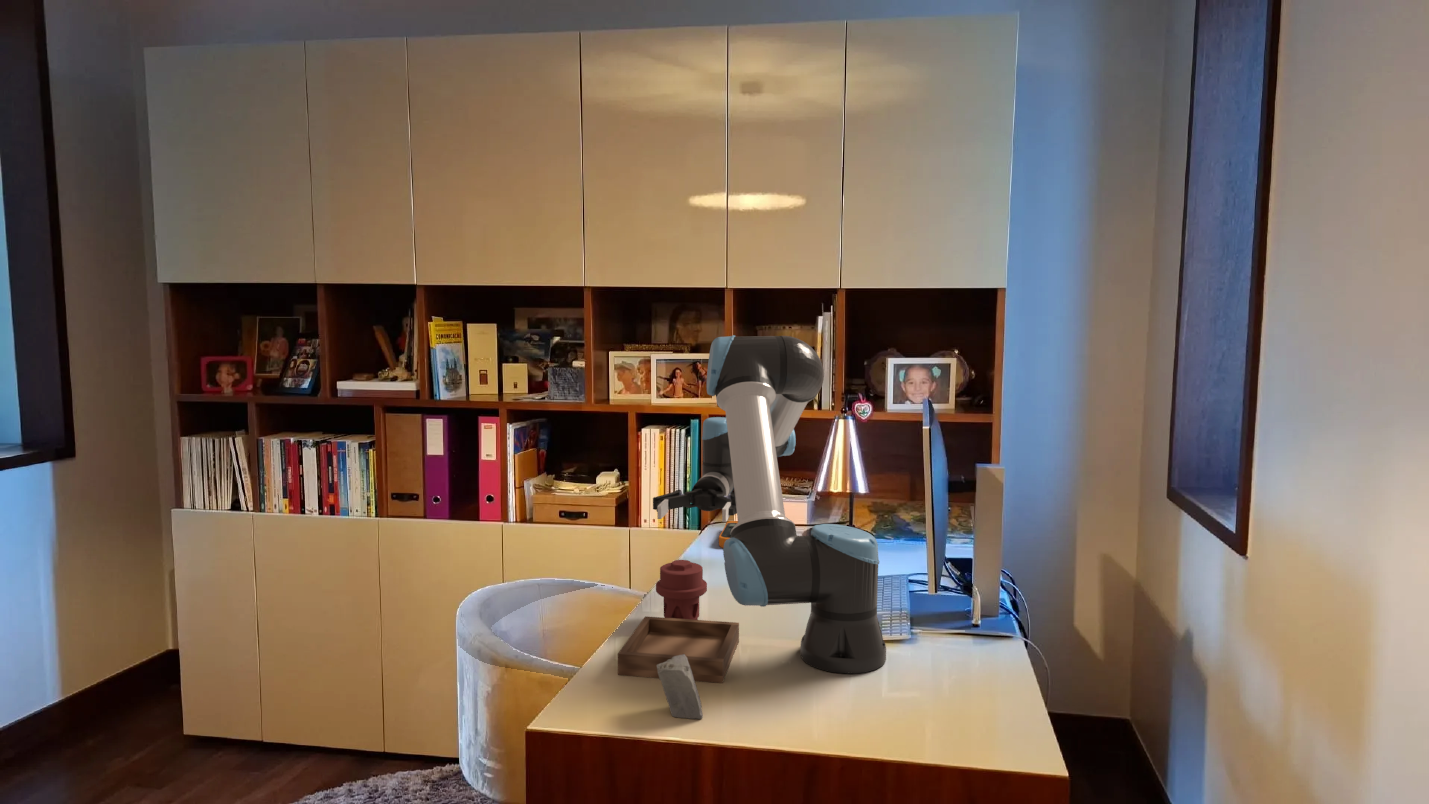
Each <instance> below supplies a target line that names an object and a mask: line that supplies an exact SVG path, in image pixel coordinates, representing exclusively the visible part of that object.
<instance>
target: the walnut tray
mask: <svg viewBox="0 0 1429 804" xmlns="http://www.w3.org/2000/svg"><path fill="white" fill-rule="evenodd" d="M739 643H740V622H735V621H734V622H733V621H717V620H706V619H705V620H703V619H698V620H691V619H676V618H665V617H658V616H644V617H643V619H642V620H641V621H640V622H639V624H638V625H637V626H636V628H635V629H634V631H633V632H632V634H631V635H630V636H629V638H628V639H627V641H626V642H625V643H624V645H622V647H621V649H620V650H619V652H618V653H617V675H618V676H627V677H640V678H641V677H642V678H651V679H653V678H654V679H659V675H658V670H657V665H658V664H660V663H663V662H666V661H667V660H668V659H671V658H672V657H674V656H678V655H683V654H685V656H686V657H687V659H688V662H689V665H690V668H691V670H692V674H693V677H694V680H695V682H702V683H703V682H704V683H714V684H716V683H717V684H723V682H724V680H725V678H726V675H727V672H728V670H729V667H730V665H731V663H732V661H733V657H734V656H733V655H735V653H736V651H735V650H737V648H738V646H737V645H739Z"/></svg>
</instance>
